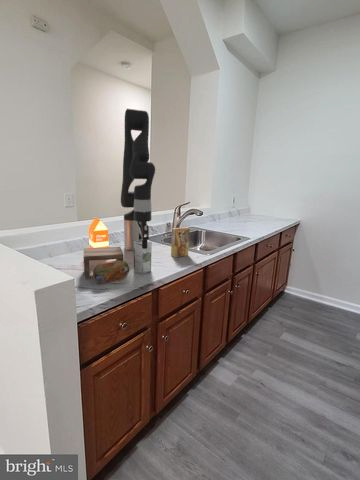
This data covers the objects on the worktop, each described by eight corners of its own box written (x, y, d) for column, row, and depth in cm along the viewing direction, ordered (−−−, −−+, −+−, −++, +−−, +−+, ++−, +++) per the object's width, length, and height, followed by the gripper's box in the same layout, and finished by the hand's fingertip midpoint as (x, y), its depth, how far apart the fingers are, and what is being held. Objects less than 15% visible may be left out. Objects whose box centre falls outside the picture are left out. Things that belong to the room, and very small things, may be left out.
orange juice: (94, 259, 140) (92, 220, 135) (89, 254, 147) (87, 217, 142) (109, 256, 144) (108, 219, 139) (103, 252, 151) (102, 216, 147)
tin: (94, 285, 109) (93, 265, 107) (92, 283, 111) (91, 263, 109) (129, 278, 117) (129, 259, 115) (126, 275, 120) (126, 257, 118)
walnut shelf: (85, 269, 125) (83, 248, 123) (120, 266, 130) (120, 246, 128) (84, 279, 114) (83, 256, 112) (123, 276, 119) (123, 254, 117)
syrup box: (142, 268, 130) (142, 238, 126) (151, 271, 126) (151, 240, 122) (133, 271, 125) (133, 240, 122) (142, 274, 122) (142, 243, 118)
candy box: (184, 253, 154) (185, 226, 150) (188, 255, 151) (189, 228, 147) (170, 255, 150) (171, 228, 146) (174, 257, 146) (175, 229, 143)
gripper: (131, 207, 124) (132, 242, 128) (136, 212, 111) (137, 250, 115) (147, 207, 126) (147, 241, 130) (154, 211, 113) (154, 249, 117)
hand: (142, 245), depth 122 cm, fingers open, 8 cm apart
